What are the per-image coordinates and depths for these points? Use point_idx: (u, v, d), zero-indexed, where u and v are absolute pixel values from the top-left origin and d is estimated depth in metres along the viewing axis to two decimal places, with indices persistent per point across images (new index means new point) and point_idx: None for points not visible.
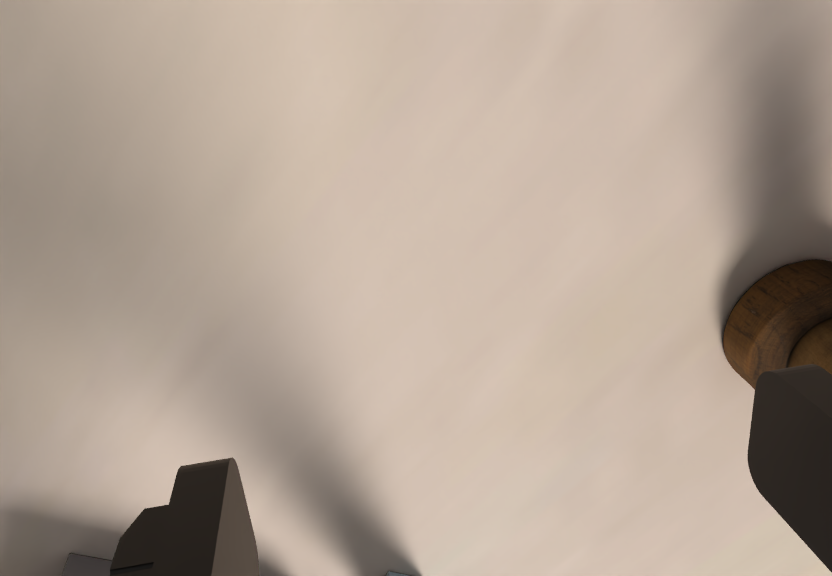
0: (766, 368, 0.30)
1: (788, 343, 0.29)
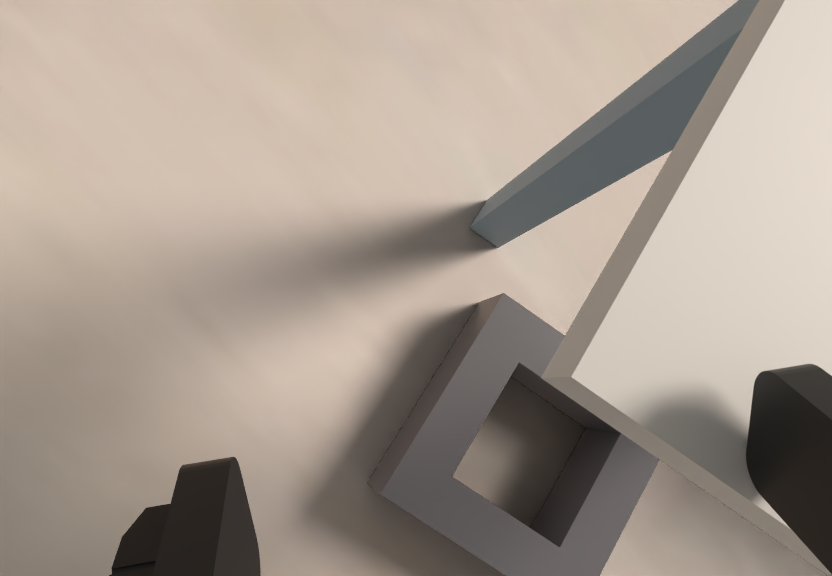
0: None
1: None
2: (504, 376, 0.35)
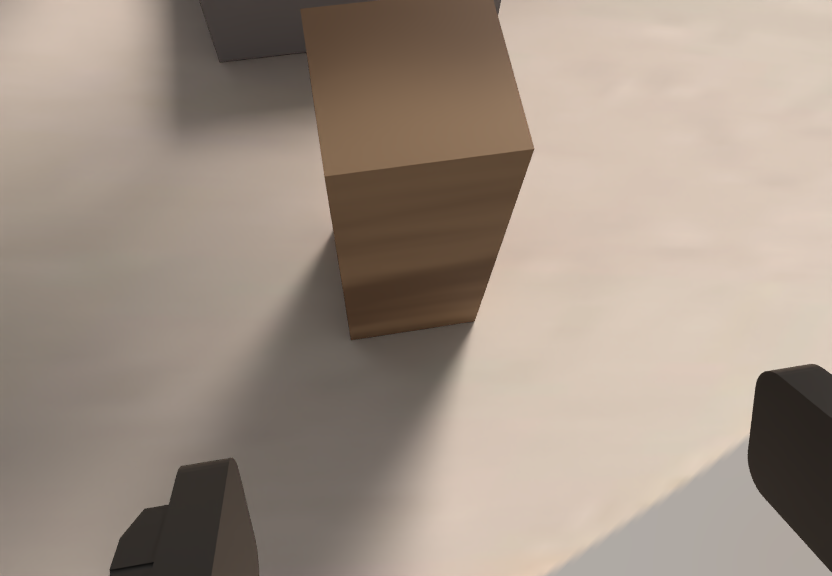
0: None
1: None
2: None
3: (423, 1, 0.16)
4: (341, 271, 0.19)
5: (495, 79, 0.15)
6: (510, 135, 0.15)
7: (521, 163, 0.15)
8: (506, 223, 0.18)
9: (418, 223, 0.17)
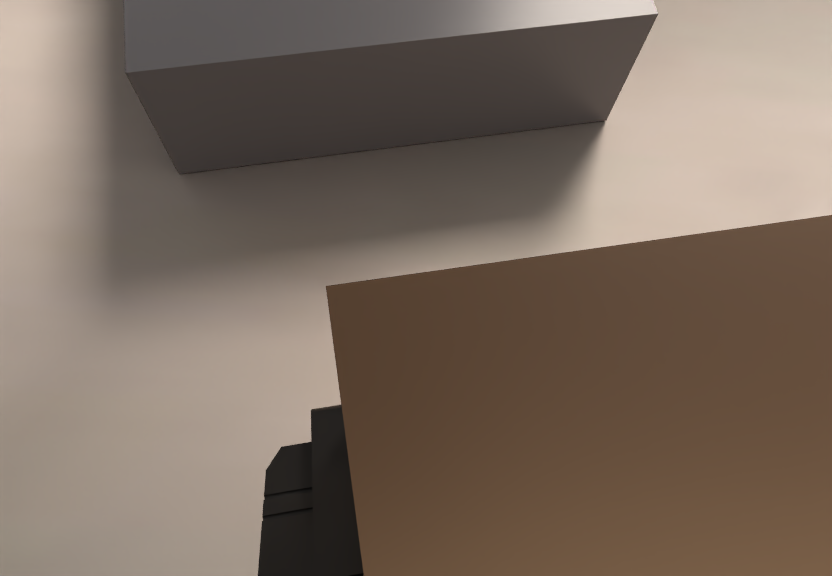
0: None
1: None
2: None
3: (680, 257, 0.06)
4: None
5: None
6: None
7: None
8: None
9: None
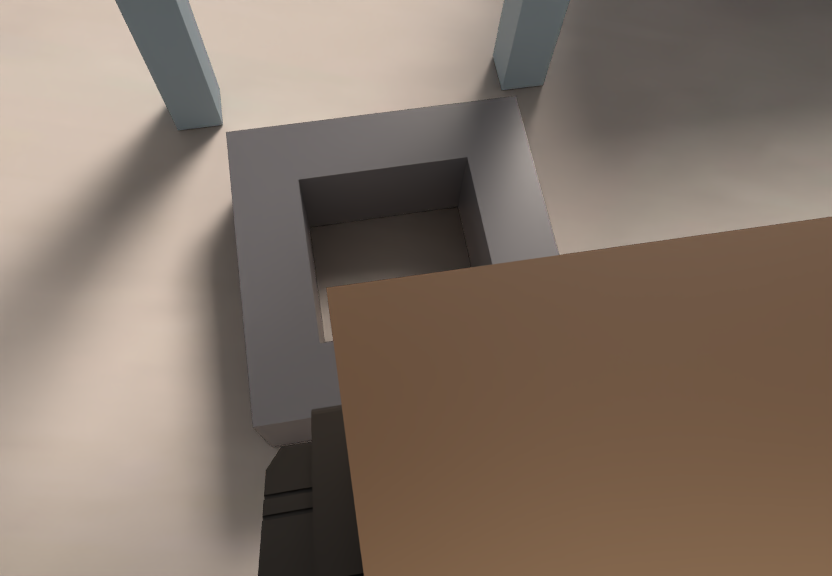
0: None
1: None
2: (294, 204, 0.26)
3: (680, 259, 0.06)
4: None
5: None
6: None
7: None
8: None
9: None
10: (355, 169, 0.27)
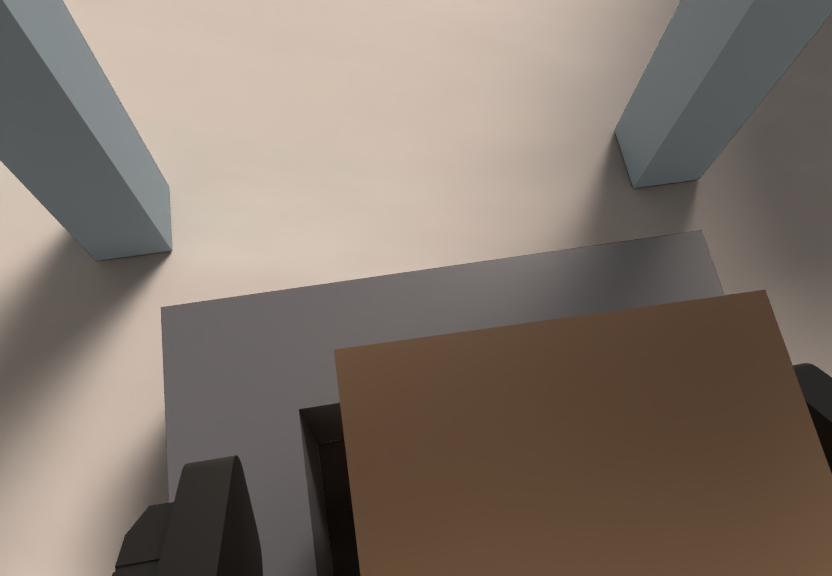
0: None
1: None
2: (290, 465, 0.13)
3: (618, 328, 0.07)
4: None
5: (815, 562, 0.06)
6: None
7: None
8: None
9: None
10: None
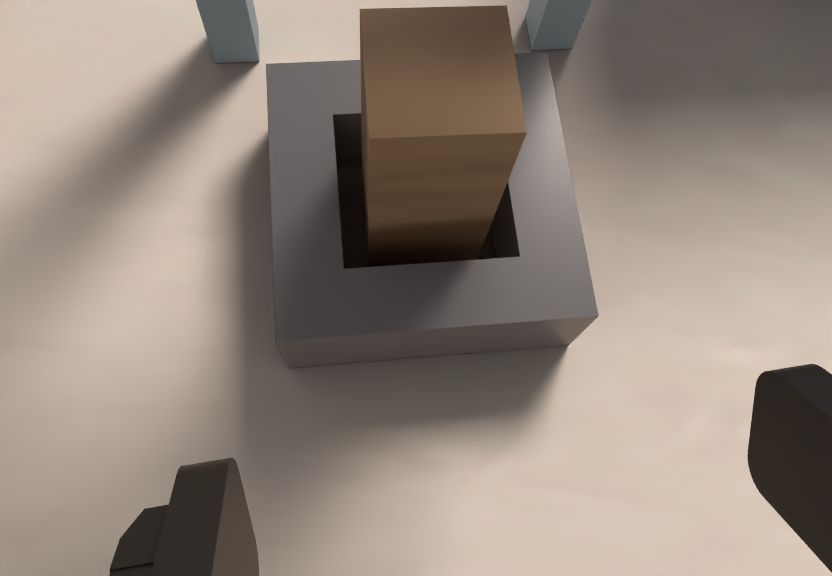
0: None
1: None
2: (327, 137, 0.27)
3: (454, 11, 0.21)
4: (370, 216, 0.24)
5: (503, 77, 0.20)
6: (510, 120, 0.20)
7: (516, 142, 0.20)
8: (502, 189, 0.23)
9: (434, 182, 0.22)
10: None
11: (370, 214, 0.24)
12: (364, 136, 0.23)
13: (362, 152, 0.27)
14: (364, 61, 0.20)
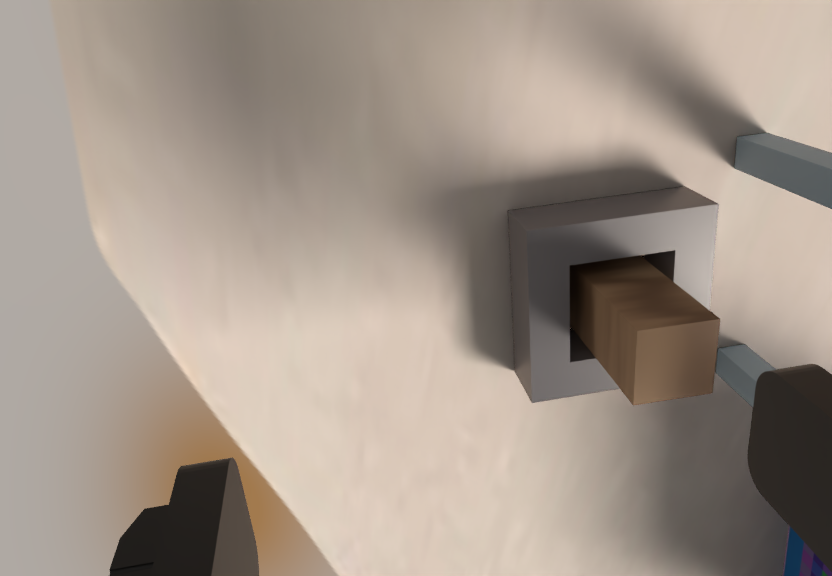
0: None
1: None
2: (659, 248, 0.42)
3: (711, 367, 0.37)
4: (599, 292, 0.40)
5: (667, 393, 0.37)
6: (640, 397, 0.37)
7: (629, 397, 0.37)
8: (607, 372, 0.40)
9: (614, 342, 0.39)
10: None
11: (600, 294, 0.40)
12: (649, 295, 0.39)
13: (646, 270, 0.42)
14: (685, 323, 0.36)
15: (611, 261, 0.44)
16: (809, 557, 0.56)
